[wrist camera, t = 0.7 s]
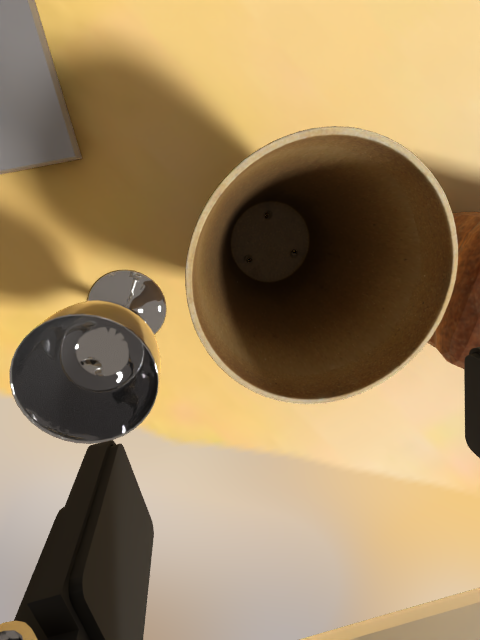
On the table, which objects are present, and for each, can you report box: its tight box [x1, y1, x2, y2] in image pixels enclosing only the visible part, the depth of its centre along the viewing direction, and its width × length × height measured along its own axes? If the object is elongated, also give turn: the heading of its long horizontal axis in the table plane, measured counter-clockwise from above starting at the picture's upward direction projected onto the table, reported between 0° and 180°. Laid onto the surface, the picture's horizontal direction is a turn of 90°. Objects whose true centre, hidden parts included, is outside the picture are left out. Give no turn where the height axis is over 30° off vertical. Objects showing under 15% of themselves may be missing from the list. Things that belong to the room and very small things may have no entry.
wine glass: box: [10, 270, 166, 444], centre depth 29 cm, size 8×8×15 cm
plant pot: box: [185, 126, 458, 404], centre depth 28 cm, size 15×15×16 cm
